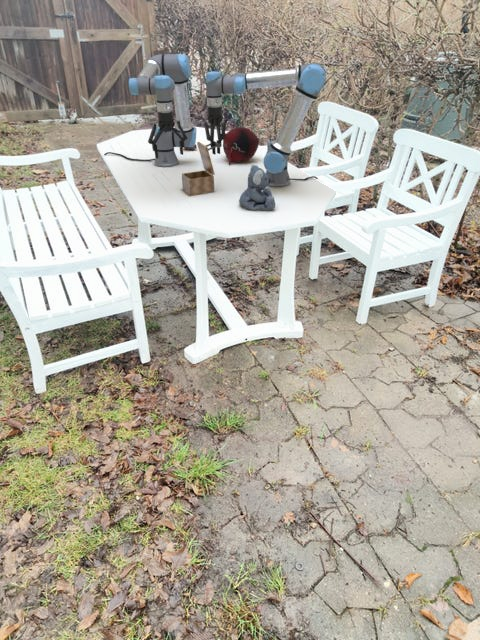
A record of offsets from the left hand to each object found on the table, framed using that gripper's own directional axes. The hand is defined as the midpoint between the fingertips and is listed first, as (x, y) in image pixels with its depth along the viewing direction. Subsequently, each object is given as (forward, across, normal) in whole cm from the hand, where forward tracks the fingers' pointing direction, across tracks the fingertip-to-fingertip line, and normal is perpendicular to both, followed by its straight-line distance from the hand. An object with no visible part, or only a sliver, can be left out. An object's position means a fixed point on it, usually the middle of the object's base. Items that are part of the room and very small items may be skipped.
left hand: (169, 155), depth 233 cm
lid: (+4, +20, 0) cm, 20 cm away
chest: (+21, +15, 0) cm, 25 cm away
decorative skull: (+21, +63, +45) cm, 80 cm away
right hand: (+2, +26, 0) cm, 26 cm away
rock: (+22, +42, +87) cm, 99 cm away
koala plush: (+20, +32, -36) cm, 53 cm away
